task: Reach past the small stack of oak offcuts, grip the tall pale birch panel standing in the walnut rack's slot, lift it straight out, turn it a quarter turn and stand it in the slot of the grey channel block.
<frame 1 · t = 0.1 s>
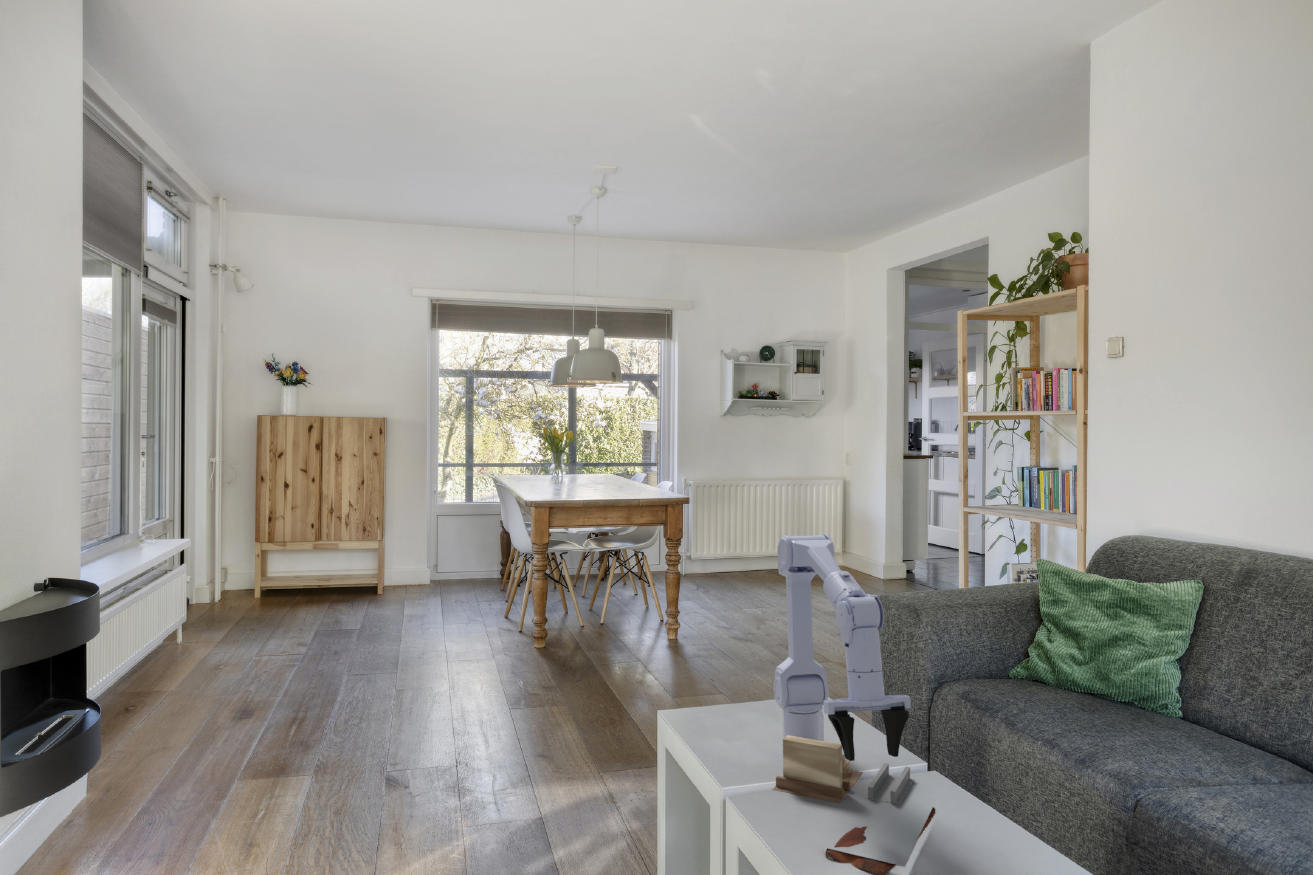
hand: (871, 757, 130), 11 cm above the table, tool pointing down, fingers open, 7 cm apart
walnut rack: (818, 785, 144), on the table
grey channel block: (889, 793, 141), on the table
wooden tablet: (887, 837, 126), on the table
birch panel: (812, 787, 141), point 1 cm above the table, touching walnut rack
offcut stack: (826, 771, 148), resting on walnut rack
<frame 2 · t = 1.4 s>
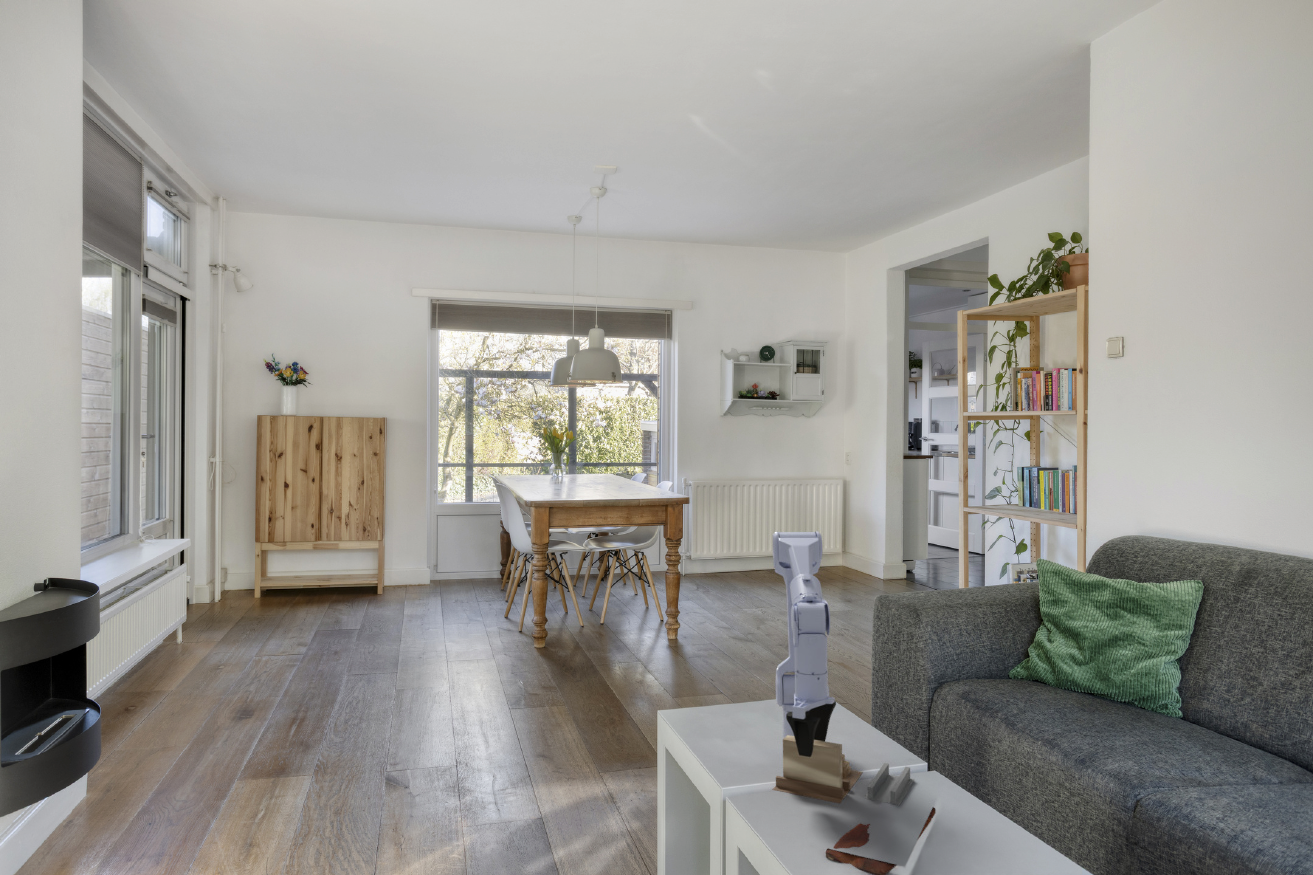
hand: (812, 748, 141), 8 cm above the table, tool pointing down, fingers open, 7 cm apart
nothing on the table moved.
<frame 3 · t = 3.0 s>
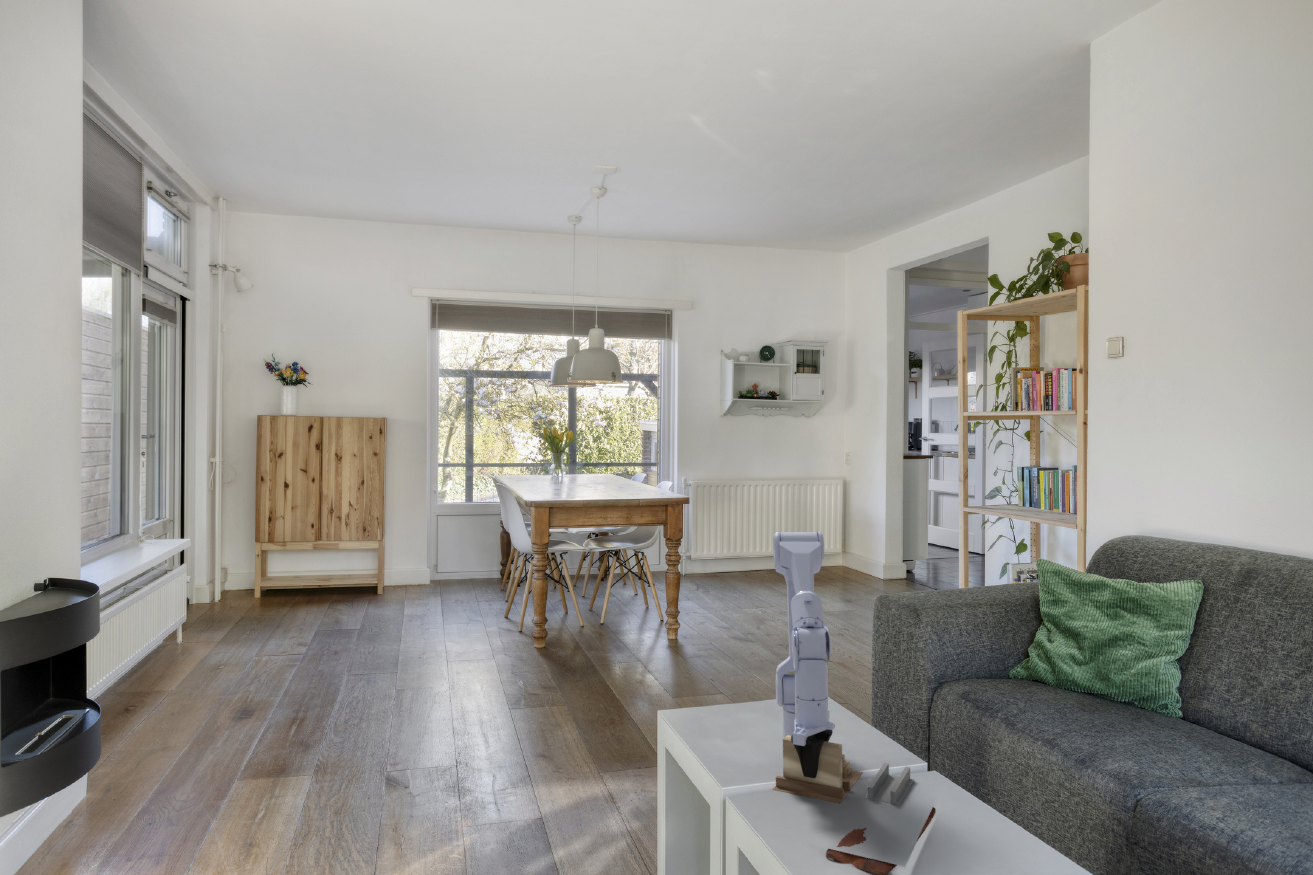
hand: (812, 773, 141), 3 cm above the table, tool pointing down, fingers closed on birch panel, 2 cm apart
birch panel: (812, 787, 141), point 1 cm above the table, touching gripper, walnut rack
everything else where it was.
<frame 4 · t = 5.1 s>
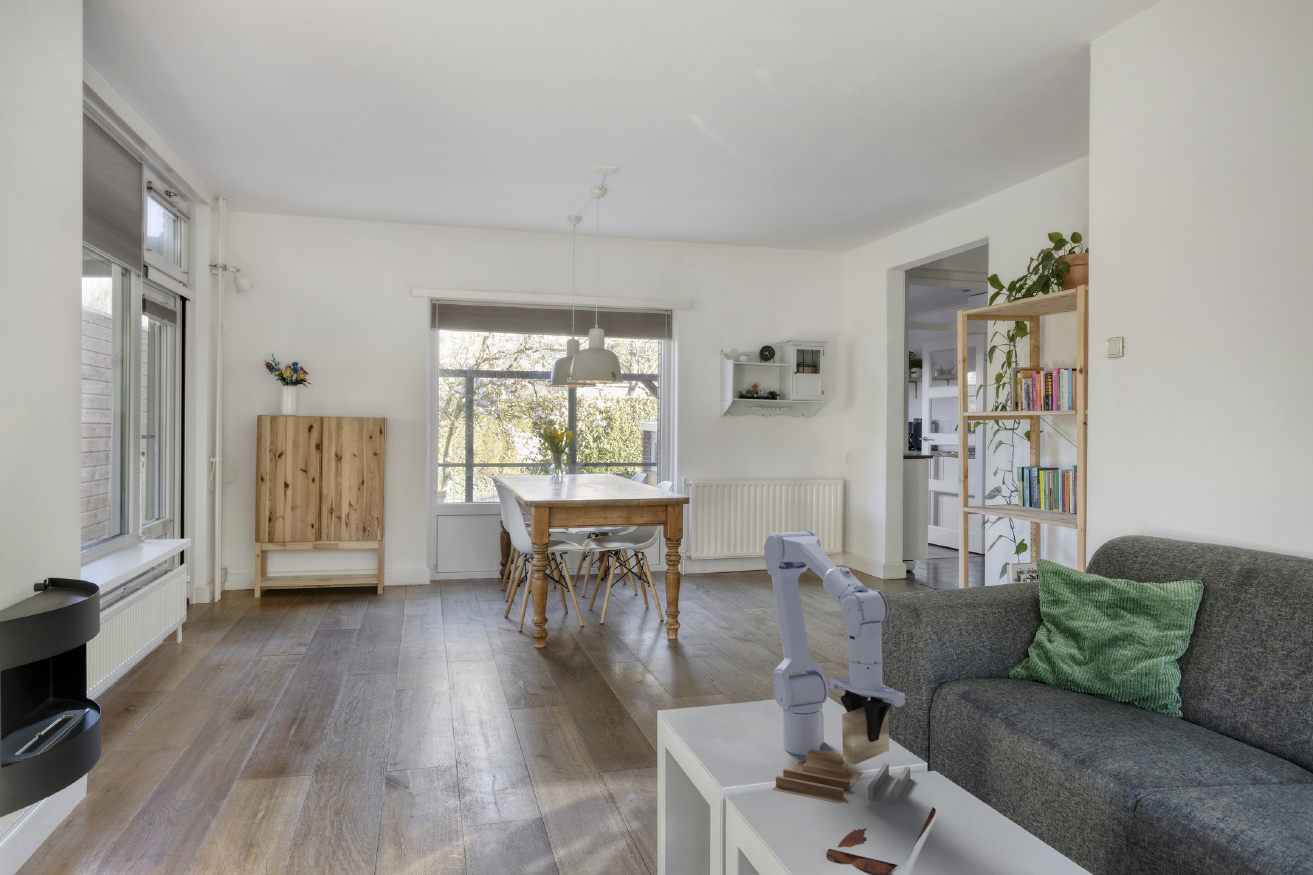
hand: (866, 737, 141), 10 cm above the table, tool pointing down, fingers closed on birch panel, 2 cm apart
birch panel: (866, 755, 141), point 7 cm above the table, touching gripper
everything else where it was.
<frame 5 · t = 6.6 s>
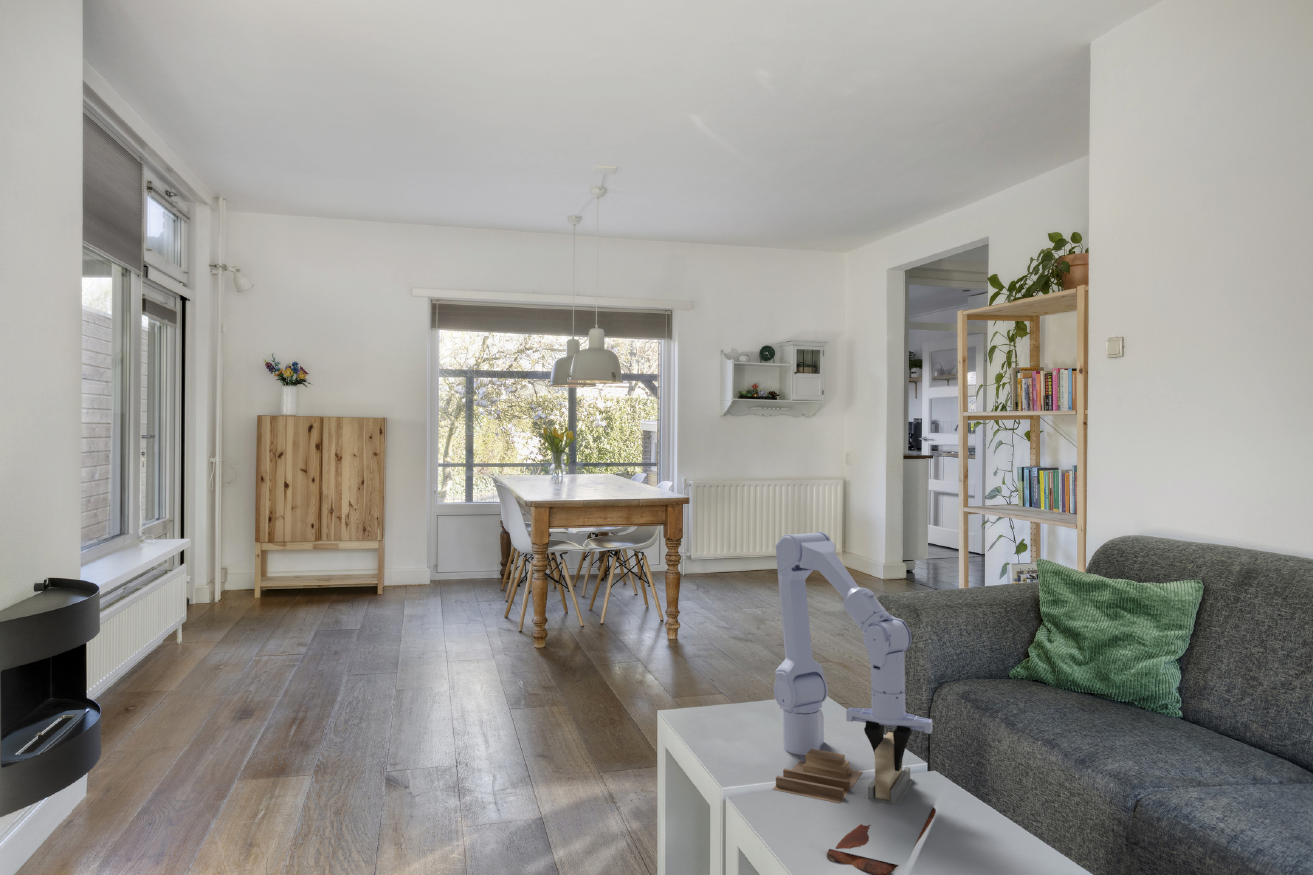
hand: (889, 767, 141), 5 cm above the table, tool pointing down, fingers closed on birch panel, 2 cm apart
birch panel: (889, 787, 140), point 1 cm above the table, touching gripper
everything else where it was.
when the fingers open (4 cm above the table, at t = 7.3 s): birch panel stays where it is, resting on grey channel block.
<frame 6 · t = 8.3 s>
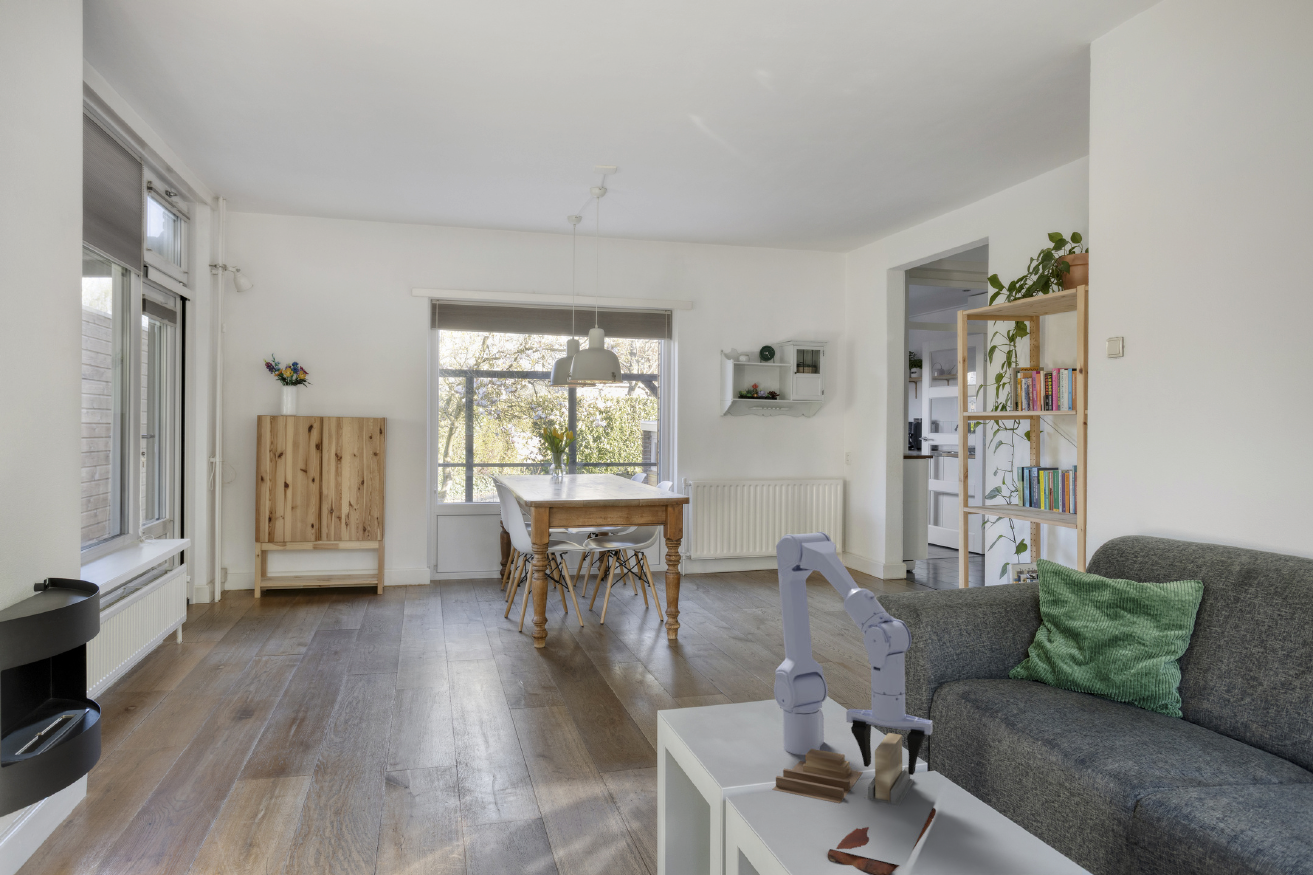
hand: (889, 768, 141), 4 cm above the table, tool pointing down, fingers open, 7 cm apart
birch panel: (889, 788, 140), point 1 cm above the table, touching grey channel block
everything else where it was.
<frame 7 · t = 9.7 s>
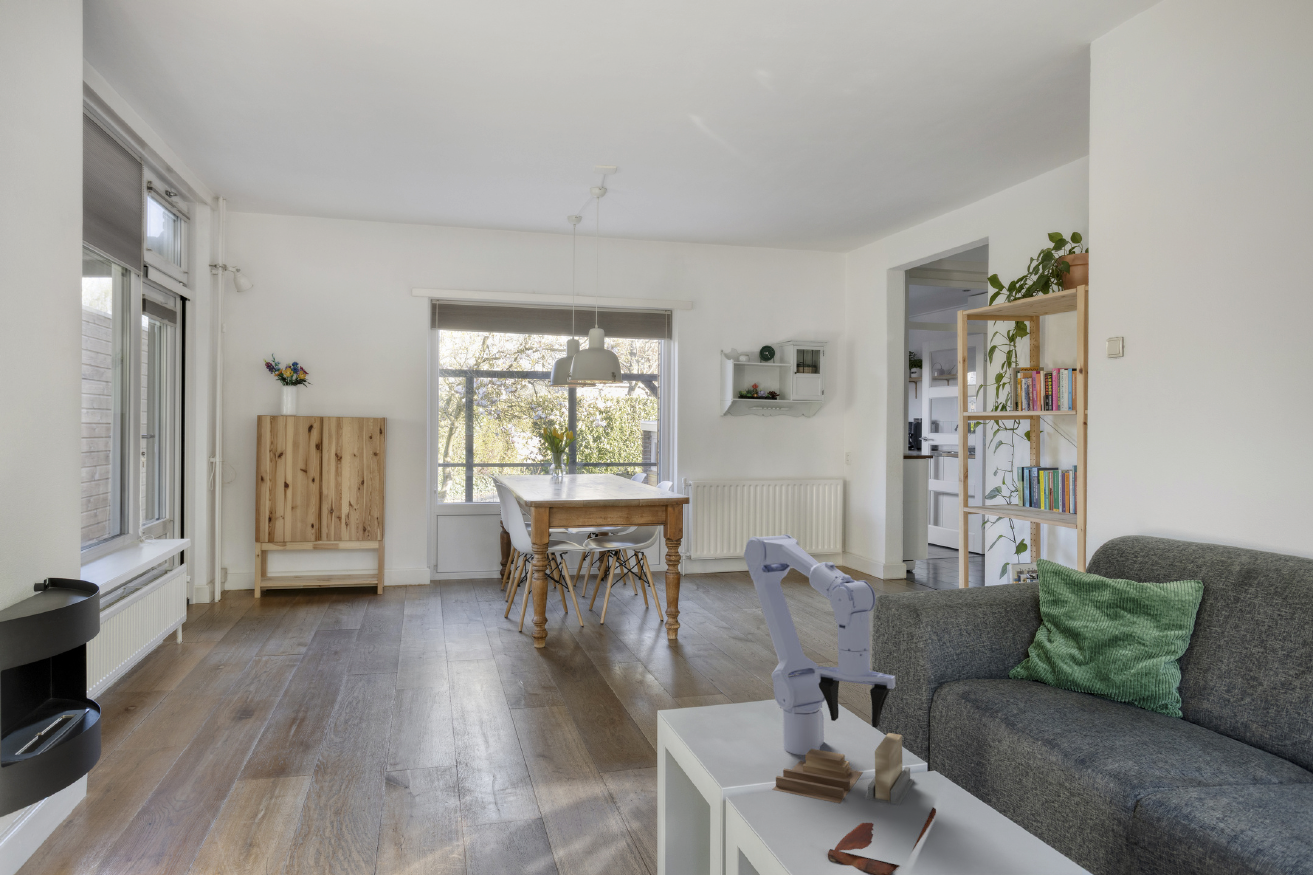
hand: (855, 722, 147), 10 cm above the table, tool pointing down, fingers open, 7 cm apart
nothing on the table moved.
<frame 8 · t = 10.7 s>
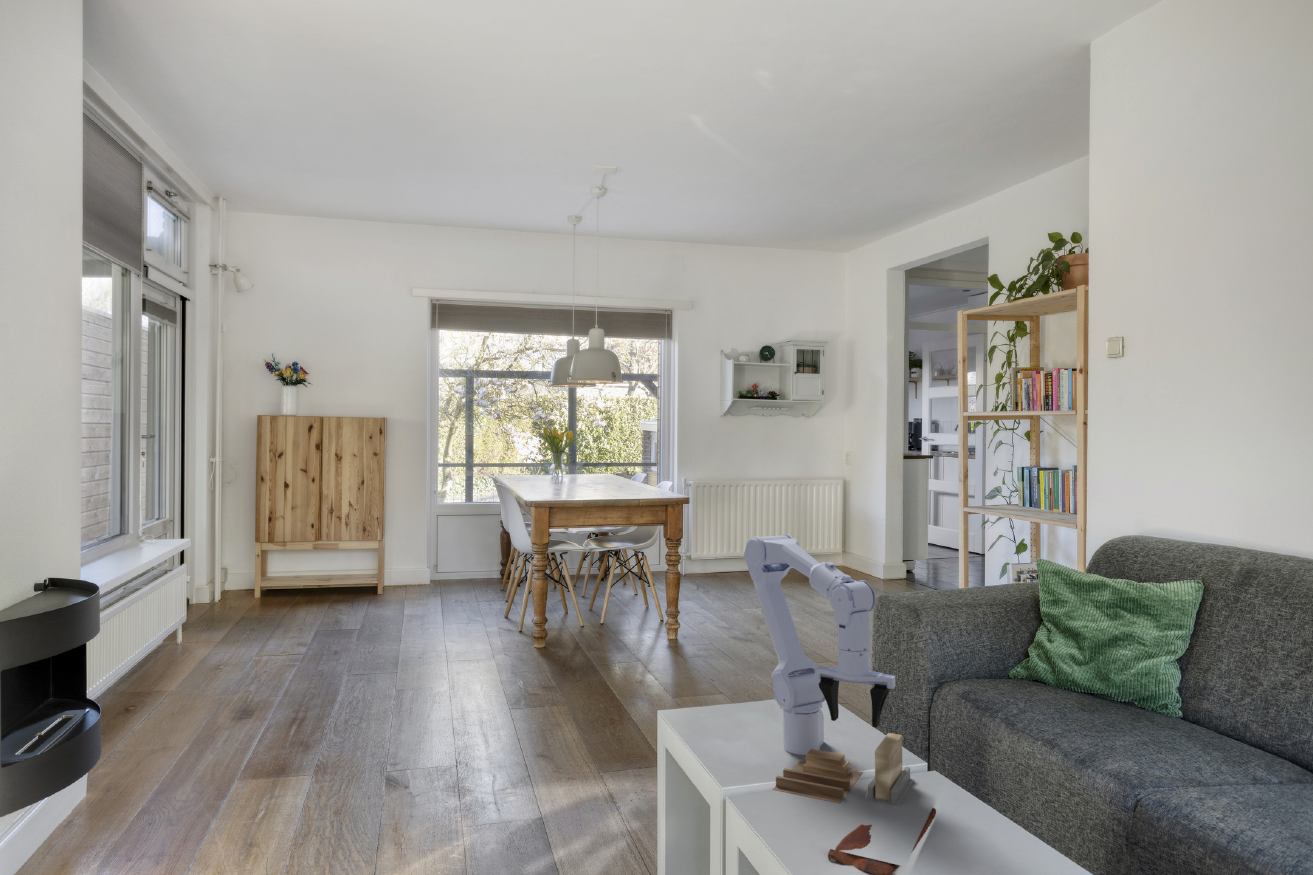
hand: (855, 722, 147), 10 cm above the table, tool pointing down, fingers open, 7 cm apart
nothing on the table moved.
at the end: birch panel 0.2 cm off-centre on the grey channel block, point 1.0 cm above the grey channel block's base; birch panel tilted 0°; the gripper is holding nothing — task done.
